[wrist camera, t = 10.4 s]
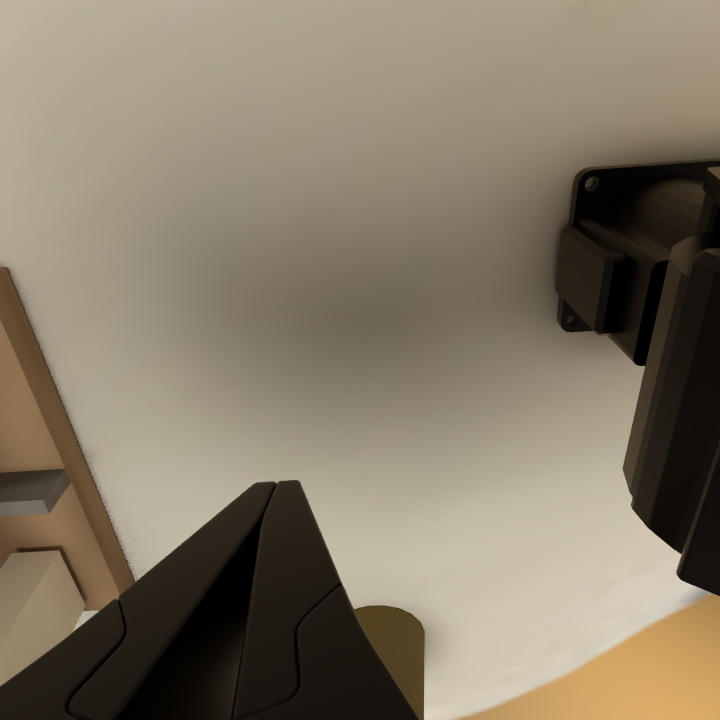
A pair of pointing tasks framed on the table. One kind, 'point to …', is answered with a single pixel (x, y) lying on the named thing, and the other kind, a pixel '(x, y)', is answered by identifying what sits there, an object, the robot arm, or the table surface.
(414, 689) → the cork
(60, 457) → the brown wooden rack
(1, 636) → the beige rectangular block
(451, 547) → the table surface
